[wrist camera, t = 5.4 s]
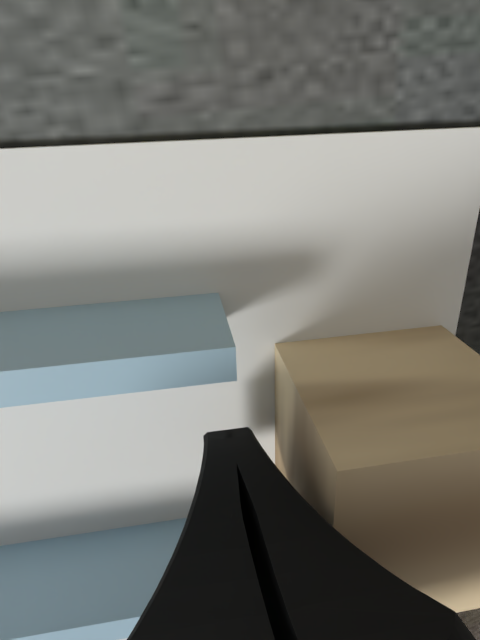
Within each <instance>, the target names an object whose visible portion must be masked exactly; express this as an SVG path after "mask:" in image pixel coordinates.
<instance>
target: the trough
mask: <svg viewBox="0 0 480 640" xmlns="http://www.w3.org/2000/svg"><path fill="white" fill-rule="evenodd" d="M231 381H237V365H236V346H235V343H234V340H233V337H232V334H231V330H230V327H229V324H228V321H227V318H226V315H225V312H224V308H223V305H222V302H221V299H220V296H219V293H209V294H197V295H186V296H175V297H163V298H152V299H141V300H130V301H118V302H107V303H96V304H85V305H73V306H62V307H51V308H40V309H28V310H17V311H6V312H0V408H4V407H13V406H21V405H30V404H39V403H48V402H56V401H65V400H74V399H83V398H91V397H100V396H109V395H117V394H126V393H135V392H144V391H152V390H161V389H170V388H179V387H187V386H196V385H205V384H214V383H222V382H231ZM186 519H187V518H182V519H175V520H169V521H162V522H156V523H149V524H142V525H136V526H129V527H122V528H116V529H109V530H103V531H96V532H89V533H83V534H76V535H70V536H63V537H56V538H50V539H43V540H36V541H30V542H23V543H17V544H10V545H3V546H0V640H119V639H124V638H128V637H129V635H130V634H131V632H132V630H133V629H134V627H135V625H136V624H137V622H138V620H139V618H140V617H141V615H142V613H143V611H144V610H145V608H146V606H147V604H148V602H149V601H150V599H151V597H152V595H153V594H154V592H155V590H156V588H157V586H158V584H159V582H160V580H161V578H162V576H163V574H164V572H165V570H166V567H167V565H168V563H169V561H170V559H171V557H172V555H173V552H174V550H175V548H176V545H177V543H178V540H179V538H180V535H181V533H182V530H183V528H184V525H185V522H186Z"/></svg>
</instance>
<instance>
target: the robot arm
mask: <svg viewBox="0 0 480 640" xmlns="http://www.w3.org/2000/svg"><path fill="white" fill-rule="evenodd" d="M203 439H204V449H203V458H202V464H201V470H200V474H199V478H198V482H197V486H196V490H195V494H194V497H193V501H192V504H191V507H190V510H189V513H188V516H187V519H186V522H185V525H184V528H183V530H182V533H181V535H180V538H179V540H178V543H177V545H176V548H175V550H174V552H173V555H172V557H171V559H170V561H169V563H168V565H167V567H166V570H165V572H164V574H163V576H162V578H161V580H160V582H159V584H158V586H157V588H156V590H155V592H154V594H153V595H152V597H151V599H150V601H149V602H148V604H147V606H146V608H145V610H144V611H143V613H142V615H141V617H140V618H139V620H138V622H137V624H136V625H135V627H134V629H133V630H132V632H131V634H130V635H129V637H128V638H127V640H476V639H475V638H474V637H473V635H472V634H471V632H470V631H469V630H468V628H467V627H466V626H465V624H464V623H463V622H462V620H461V619H460V618H459V616H458V615H457V614H456V612H455V611H453V610H452V609H450V608H448V607H447V606H445V605H443V604H441V603H440V602H438V601H436V600H435V599H433V598H431V597H429V596H428V595H426V594H424V593H423V592H421V591H419V590H417V589H416V588H414V587H412V586H411V585H409V584H407V583H406V582H404V581H403V580H402V579H400V578H399V577H397V576H396V575H394V574H393V573H391V572H390V571H388V570H387V569H385V568H384V567H383V566H381V565H380V564H379V563H377V562H376V561H375V560H373V559H372V558H371V557H369V556H368V555H367V554H365V553H364V552H363V551H361V550H360V549H359V548H357V547H356V546H355V545H354V544H352V543H351V542H350V541H349V540H348V539H346V538H345V537H344V536H343V535H342V534H340V533H339V532H338V531H337V530H336V529H335V528H334V527H333V526H331V525H330V524H329V523H328V522H327V521H326V520H325V519H324V518H323V517H322V516H321V515H320V514H319V513H318V512H317V511H316V510H315V509H314V508H313V507H312V506H311V505H310V504H309V503H308V502H307V501H306V500H305V499H304V498H303V497H302V496H301V495H300V494H299V493H298V492H297V490H296V489H295V488H294V487H293V486H292V485H291V484H290V482H289V481H288V480H287V479H286V478H285V476H284V475H283V474H282V473H281V471H280V470H279V469H278V468H277V467H276V465H275V464H274V463H273V461H272V460H271V459H270V457H269V456H268V455H267V453H266V452H265V450H264V449H263V448H262V446H261V445H260V443H259V442H258V440H257V438H256V437H255V435H254V433H253V432H252V430H251V429H250V428H248V427H243V428H236V429H228V430H220V431H212V432H207V433H206V434H205V435H204V436H203Z"/></svg>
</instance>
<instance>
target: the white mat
mask: <svg viewBox="0 0 480 640" xmlns="http://www.w3.org/2000/svg"><path fill="white" fill-rule="evenodd" d="M479 208H480V127H460V128H437V129H415V130H393V131H371V132H348V133H326V134H304V135H282V136H260V137H237V138H215V139H193V140H171V141H148V142H126V143H104V144H82V145H60V146H37V147H15V148H0V312H6V311H17V310H28V309H40V308H51V307H62V306H73V305H85V304H96V303H107V302H118V301H130V300H141V299H152V298H163V297H175V296H186V295H197V294H209V293H219V296H220V299H221V302H222V305H223V308H224V312H225V315H226V318H227V321H228V324H229V327H230V330H231V334H232V337H233V340H234V343H235V346H236V365H237V381H231V382H222V383H214V384H205V385H196V386H187V387H179V388H170V389H161V390H152V391H144V392H135V393H126V394H117V395H109V396H100V397H91V398H83V399H74V400H65V401H56V402H48V403H39V404H30V405H21V406H13V407H4V408H0V546H3V545H10V544H17V543H23V542H30V541H36V540H43V539H50V538H56V537H63V536H70V535H76V534H83V533H89V532H96V531H103V530H109V529H116V528H122V527H129V526H136V525H142V524H149V523H156V522H162V521H169V520H175V519H182V518H187V516H188V513H189V510H190V507H191V504H192V501H193V497H194V494H195V490H196V486H197V482H198V478H199V474H200V470H201V464H202V458H203V449H204V439H203V436H204V435H205V434H206V433H207V432H212V431H220V430H228V429H236V428H243V427H248V428H250V429H251V430H252V432H253V433H254V435H255V437H256V438H257V440H258V442H259V443H260V445H261V446H262V448H263V449H264V450H265V452H266V453H267V455H268V456H269V457H270V459H271V460H272V461H273V463H274V464H275V343H284V342H294V341H303V340H312V339H321V338H330V337H339V336H348V335H357V334H366V333H376V332H385V331H394V330H403V329H412V328H421V327H430V326H439V325H442V326H443V327H444V328H446V329H447V330H448V331H449V332H451V333H452V334H453V335H456V330H457V324H458V319H459V314H460V309H461V303H462V298H463V293H464V288H465V282H466V277H467V272H468V266H469V261H470V256H471V251H472V245H473V240H474V235H475V230H476V224H477V219H478V214H479ZM119 640H127V638H124V639H119Z"/></svg>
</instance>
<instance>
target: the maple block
mask: <svg viewBox="0 0 480 640" xmlns="http://www.w3.org/2000/svg"><path fill="white" fill-rule="evenodd" d="M275 465H276V467H277V468H278V469H279V470H280V471H281V473H282V474H283V475H284V476H285V478H286V479H287V480H288V481H289V482H290V484H291V485H292V486H293V487H294V488H295V489H296V490H297V492H298V493H299V494H300V495H301V496H302V497H303V498H304V499H305V500H306V501H307V502H308V503H309V504H310V505H311V506H312V507H313V508H314V509H315V510H316V511H317V512H318V513H319V514H320V515H321V516H322V517H323V518H324V519H325V520H326V521H327V522H328V523H329V524H330V525H331V526H333V527H334V528H335V529H336V530H337V531H338V532H339V533H340V534H342V535H343V536H344V537H345V538H346V539H348V540H349V541H350V542H351V543H352V544H354V545H355V546H356V547H357V548H359V549H360V550H361V551H363V552H364V553H365V554H367V555H368V556H369V557H371V558H372V559H373V560H375V561H376V562H377V563H379V564H380V565H381V566H383V567H384V568H385V569H387V570H388V571H390V572H391V573H393V574H394V575H396V576H397V577H399V578H400V579H402V580H403V581H404V582H406V583H407V584H409V585H411V586H412V587H414V588H416V589H417V590H419V591H421V592H423V593H424V594H426V595H428V596H429V597H431V598H433V599H435V600H436V601H438V602H440V603H441V604H443V605H445V606H447V607H448V608H450V609H452V610H453V611H455V612H456V613H458V612H463V611H468V610H473V609H478V608H480V355H479V354H478V353H477V352H475V351H474V350H473V349H471V348H470V347H469V346H468V345H466V344H465V343H464V342H462V341H461V340H460V339H459V338H457V337H456V336H455V335H453V334H452V333H451V332H449V331H448V330H447V329H446V328H444V327H443V326H442V325H439V326H430V327H421V328H412V329H403V330H394V331H385V332H376V333H366V334H357V335H348V336H339V337H330V338H321V339H312V340H303V341H294V342H284V343H275Z"/></svg>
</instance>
